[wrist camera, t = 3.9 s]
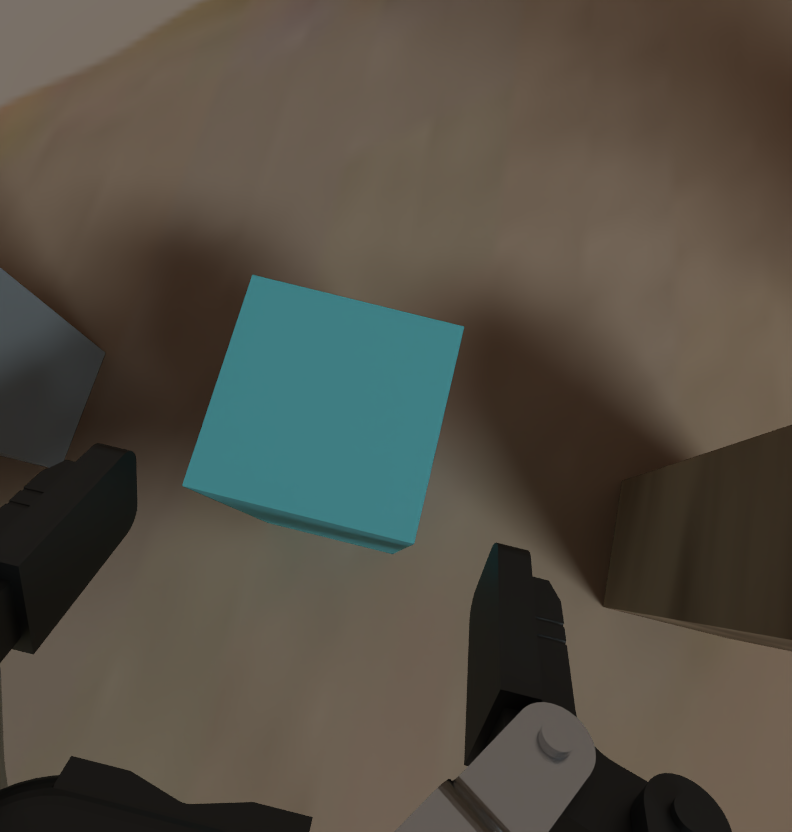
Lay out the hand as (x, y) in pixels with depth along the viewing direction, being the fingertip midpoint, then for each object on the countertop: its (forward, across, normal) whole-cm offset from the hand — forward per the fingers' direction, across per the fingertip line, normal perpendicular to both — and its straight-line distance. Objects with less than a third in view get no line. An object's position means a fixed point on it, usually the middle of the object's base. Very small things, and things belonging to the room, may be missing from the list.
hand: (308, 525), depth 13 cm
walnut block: (+7, -12, +4) cm, 15 cm away
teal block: (+7, 0, +4) cm, 8 cm away
